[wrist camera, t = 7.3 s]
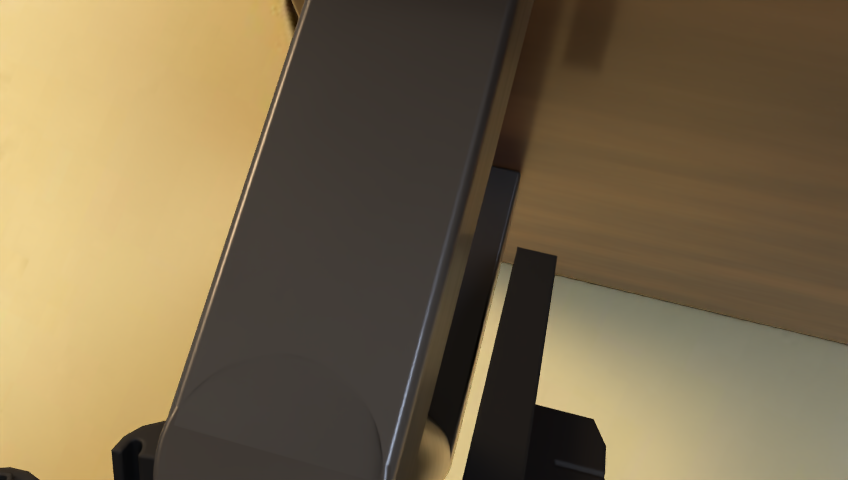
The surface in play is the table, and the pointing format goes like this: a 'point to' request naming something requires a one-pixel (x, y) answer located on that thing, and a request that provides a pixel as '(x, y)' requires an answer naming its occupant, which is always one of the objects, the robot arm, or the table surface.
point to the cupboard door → (503, 208)
